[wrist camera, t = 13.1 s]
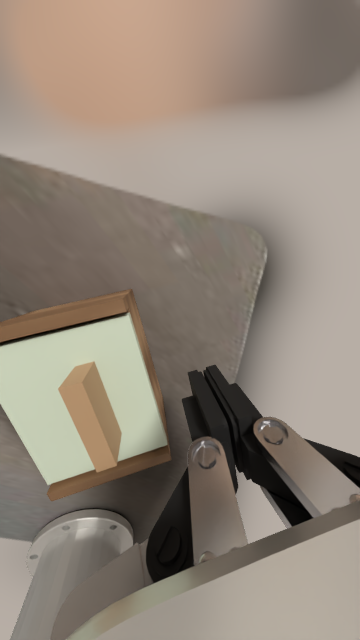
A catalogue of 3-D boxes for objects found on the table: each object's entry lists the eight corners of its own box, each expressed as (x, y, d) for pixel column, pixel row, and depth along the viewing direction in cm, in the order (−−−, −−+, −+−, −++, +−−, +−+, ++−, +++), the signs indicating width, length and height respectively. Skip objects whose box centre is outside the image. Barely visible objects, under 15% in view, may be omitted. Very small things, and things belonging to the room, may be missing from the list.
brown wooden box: (163, 398, 21) (171, 460, 14) (84, 422, 20) (51, 501, 13) (131, 288, 18) (122, 298, 11) (34, 311, 17) (-47, 338, 10)
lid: (166, 436, 15) (171, 477, 12) (53, 473, 14) (27, 528, 11) (129, 312, 12) (124, 325, 9) (-17, 347, 11) (-79, 375, 8)
